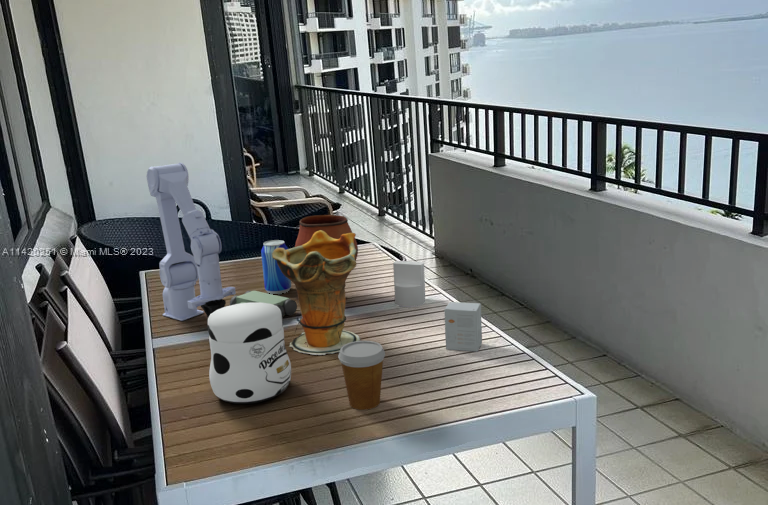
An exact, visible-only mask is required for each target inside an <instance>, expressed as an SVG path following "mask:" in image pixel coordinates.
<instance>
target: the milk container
mask: <svg viewBox="0 0 768 505" xmlns="http://www.w3.org/2000/svg"><path fill="white" fill-rule="evenodd" d="M284 330H285V328H284V320H283V318H282V314H281V310H280V309H279V308H278V307H277V306H275V305H273V304H269V303H261V302H255V303H241V304H235V305H231V306H230V305H225V306H224V308H221V309H218V310H216V311H214V312H213V313H211V314H210V316H209V318H208V317H207V332H208V342H209V348H210V365H209V371H208V372H209V373H208V374H209V376H208V377H209V383H210V386H211V389H212V392H213V393H214V395H215V396H216V398H218V399H220V400H221V401H223V402H226V403H231V404H233V405H234V404H235V405H250V404H256V403H257V404H258V403H262V402H265V401H268V400H272V399H274V398H275V397H278V396H279V395H281V394H282V393H283V392H284V391H286V390H287V388H288V387H289V385H290V383H291V377H292V364H291V360H290V357H289V355H288V352H287V349H286V345H285V343H286V342H285V331H284Z"/></svg>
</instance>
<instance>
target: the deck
mask: <svg viewBox="0 0 768 505" xmlns="http://www.w3.org/2000/svg"><path fill="white" fill-rule="evenodd" d="M255 302H261V303H269V304H273V305H275V306H277V307H278V308H279V309H280V310H281V314H282V319H283V318H284V315H285V316H287V315H288V316H293V315H295V314H296V312H297V309H298V305H297V303H298V302H296V300H294V299H291V298H290V297H286V296H280V295H273V294H269V293H268V292H262V291H258V290H247V291H245V292H244V294H241V295H237V294H235V295H232V297H231V299H230V301H229V306H231V305H235V304H241V303H255Z"/></svg>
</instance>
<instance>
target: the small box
mask: <svg viewBox="0 0 768 505" xmlns="http://www.w3.org/2000/svg"><path fill="white" fill-rule="evenodd" d="M443 312H444V313H443V314H444V333H445V334H444V335H445V338H444V340H445V349H446V350H448V351H449V350H450V351H451V350H452V351H462V352H463V351H465V352H476V353H478V352H479V350H480V348H481V345H482V344H483V330H482V328H483V327H482V326H483V325H482V304H481V303H480V302H479V303H477V302H461V301H460V302H459V301H458V302H457V301H449V302H448V304H447V305H446V306H445V308H444V311H443Z"/></svg>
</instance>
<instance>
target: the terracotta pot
mask: <svg viewBox="0 0 768 505" xmlns="http://www.w3.org/2000/svg"><path fill="white" fill-rule="evenodd" d="M348 221H349V220H348V218H347V217H346V216H345V215H339V214H338V215H337V214H335V215H334V214H318V215H317V214H316V215H310V216H309V215H308V216H305V217H303V218H301V219H300V220H299V223H298V224H299V228H298V229H299V230H298V234H297V238H296V240H295V245H294V247H297V246H302V245H303V244H305V243H307V242H309V241H310V239H311V238H312V236H313V234H314V233H315V232H317V231H320V230H322V231H324V232H326V233H327V235H328V236H329V237H332V238H334V239H340V237H341V235H343V234H348V233H353V231H352V229H351V227H350V226H351V225H349V223H348ZM354 245H355V249H356V255H355V256H356V257H355V261H356V262H357V258H358V255H359V254H358V252H359V248H358V242H357V240H356V238H355V239H354Z"/></svg>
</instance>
